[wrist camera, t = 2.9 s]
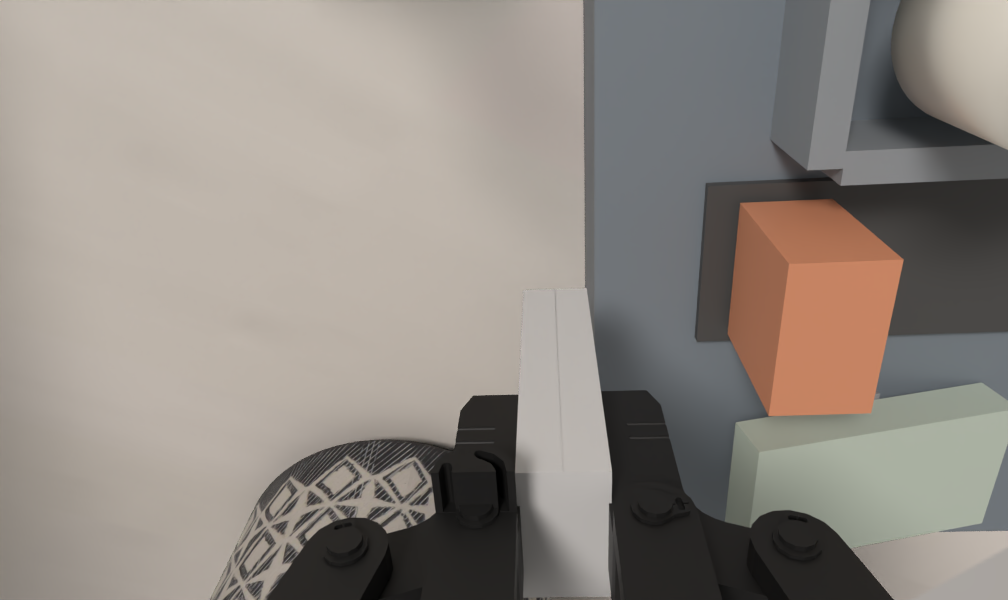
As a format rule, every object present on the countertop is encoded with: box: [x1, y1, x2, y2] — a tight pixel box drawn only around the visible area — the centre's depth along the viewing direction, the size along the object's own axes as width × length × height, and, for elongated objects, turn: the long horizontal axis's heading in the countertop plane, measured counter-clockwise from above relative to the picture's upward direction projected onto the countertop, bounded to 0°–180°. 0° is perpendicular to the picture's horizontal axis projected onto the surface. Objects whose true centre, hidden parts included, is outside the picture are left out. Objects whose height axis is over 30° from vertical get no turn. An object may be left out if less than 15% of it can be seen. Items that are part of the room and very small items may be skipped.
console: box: [583, 0, 1008, 532], centre depth 19 cm, size 16×28×7 cm, turn 3°
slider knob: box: [728, 199, 904, 416], centre depth 18 cm, size 2×4×4 cm, turn 4°
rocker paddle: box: [725, 383, 1008, 548], centre depth 22 cm, size 8×4×1 cm, turn 93°
